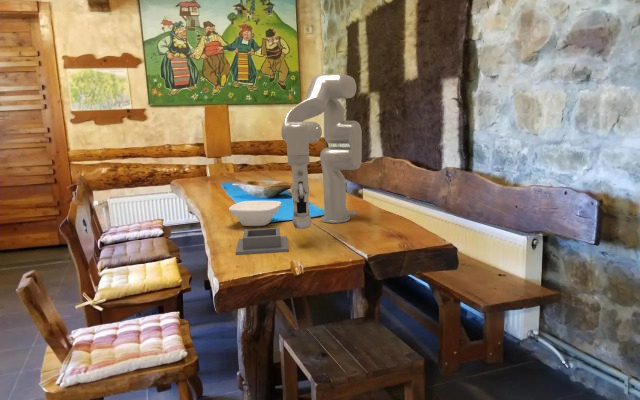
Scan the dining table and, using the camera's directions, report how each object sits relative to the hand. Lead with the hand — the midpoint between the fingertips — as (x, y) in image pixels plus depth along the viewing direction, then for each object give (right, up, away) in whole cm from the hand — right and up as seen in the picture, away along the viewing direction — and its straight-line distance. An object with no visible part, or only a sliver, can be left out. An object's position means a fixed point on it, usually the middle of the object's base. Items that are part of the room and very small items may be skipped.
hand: (301, 210), depth 168 cm
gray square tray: (-14, -13, +3) cm, 19 cm away
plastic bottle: (0, -7, +1) cm, 7 cm away
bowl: (-21, -7, +36) cm, 42 cm away
